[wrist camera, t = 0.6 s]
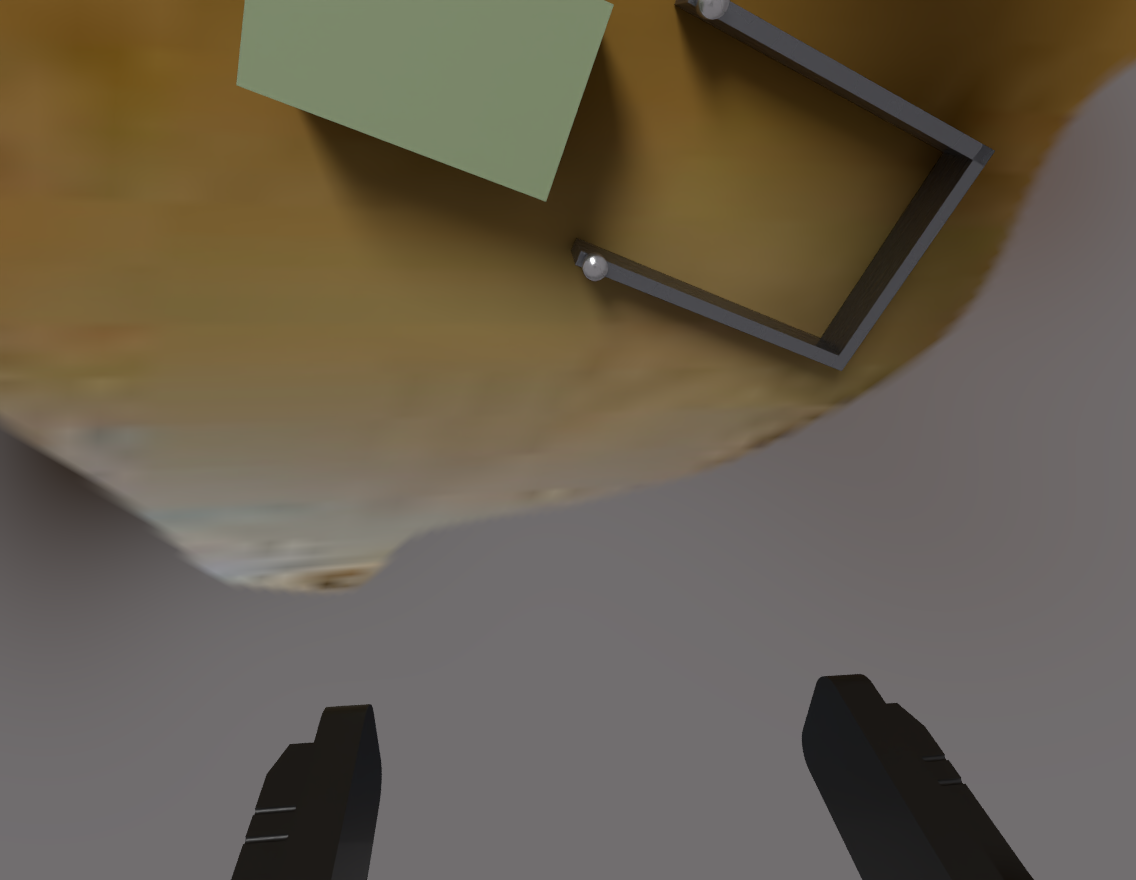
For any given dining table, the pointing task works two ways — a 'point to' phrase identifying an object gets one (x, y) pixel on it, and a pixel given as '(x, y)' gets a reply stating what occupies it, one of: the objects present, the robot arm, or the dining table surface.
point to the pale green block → (434, 74)
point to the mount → (896, 252)
